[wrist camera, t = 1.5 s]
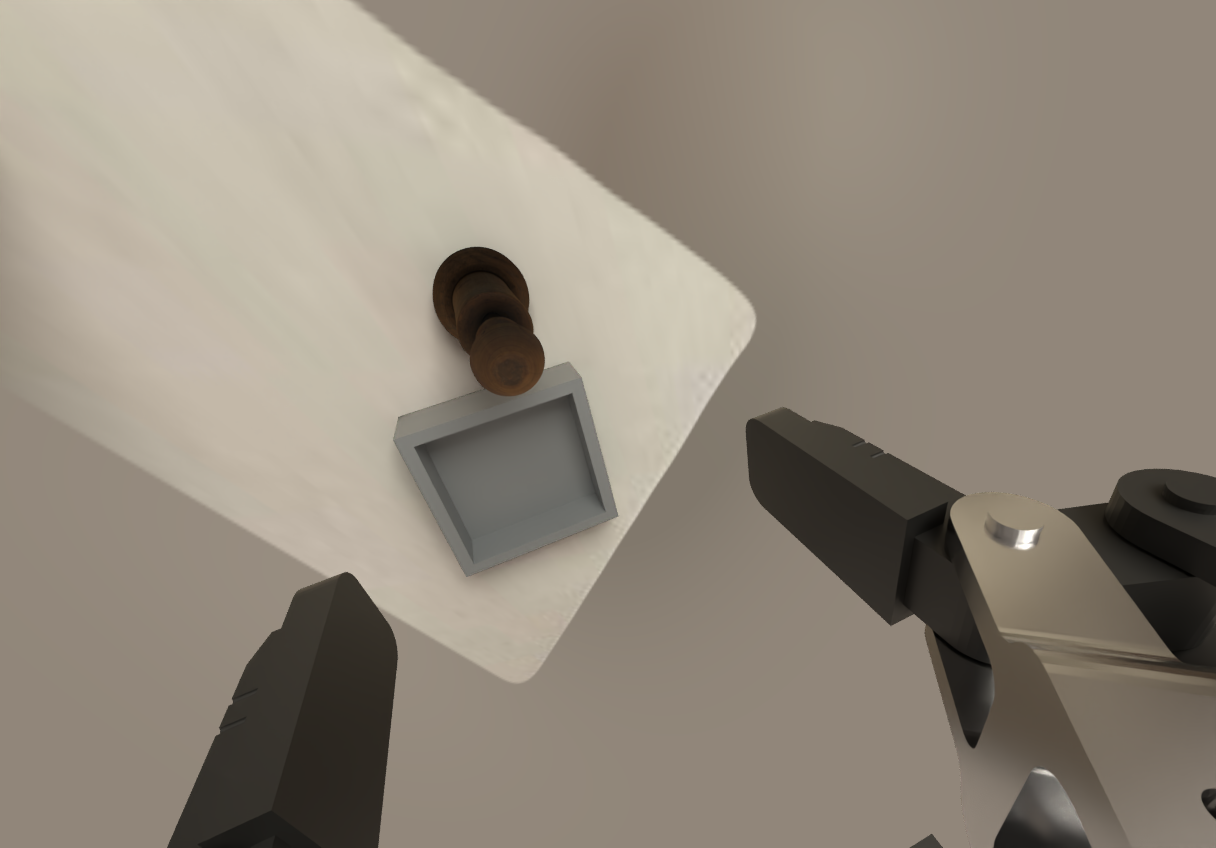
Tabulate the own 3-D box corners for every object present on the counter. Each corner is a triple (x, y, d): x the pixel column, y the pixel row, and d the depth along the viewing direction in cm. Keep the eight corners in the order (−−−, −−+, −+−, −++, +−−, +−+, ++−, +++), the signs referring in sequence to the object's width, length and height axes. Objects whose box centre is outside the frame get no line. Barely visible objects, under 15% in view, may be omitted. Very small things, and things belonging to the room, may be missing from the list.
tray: (464, 546, 41) (466, 577, 38) (398, 417, 34) (393, 440, 31) (604, 492, 44) (618, 516, 40) (568, 361, 37) (581, 377, 34)
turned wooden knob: (518, 344, 35) (575, 450, 20) (430, 333, 33) (416, 443, 17) (530, 256, 33) (606, 298, 17) (436, 237, 30) (426, 265, 15)
